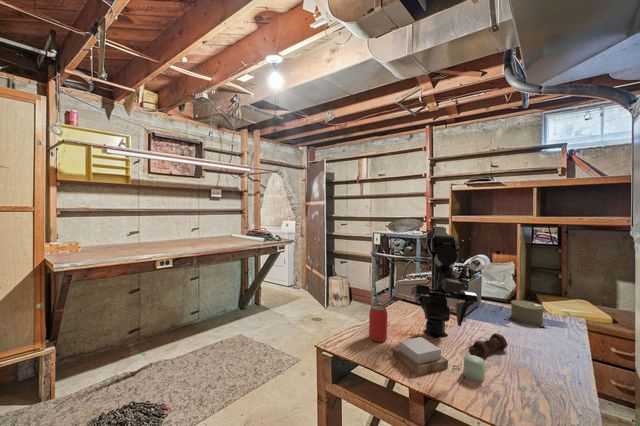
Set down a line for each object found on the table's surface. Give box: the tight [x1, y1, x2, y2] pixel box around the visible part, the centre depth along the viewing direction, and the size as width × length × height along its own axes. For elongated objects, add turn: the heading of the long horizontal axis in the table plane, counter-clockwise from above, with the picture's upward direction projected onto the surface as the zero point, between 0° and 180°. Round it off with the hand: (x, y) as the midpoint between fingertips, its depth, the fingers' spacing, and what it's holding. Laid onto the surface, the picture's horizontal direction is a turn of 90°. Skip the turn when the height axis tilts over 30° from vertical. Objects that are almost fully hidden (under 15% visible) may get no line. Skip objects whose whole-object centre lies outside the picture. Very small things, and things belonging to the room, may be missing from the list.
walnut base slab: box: [391, 347, 449, 376], centre depth 94 cm, size 12×12×3 cm
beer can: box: [368, 304, 388, 343], centre depth 109 cm, size 7×7×12 cm
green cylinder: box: [463, 354, 486, 383], centre depth 87 cm, size 6×6×5 cm
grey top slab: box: [398, 336, 442, 364], centre depth 94 cm, size 9×9×3 cm
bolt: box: [468, 332, 508, 357], centre depth 101 cm, size 6×5×15 cm
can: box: [510, 299, 545, 325], centre depth 131 cm, size 12×12×7 cm
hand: (443, 323), depth 88 cm, fingers open, 9 cm apart
